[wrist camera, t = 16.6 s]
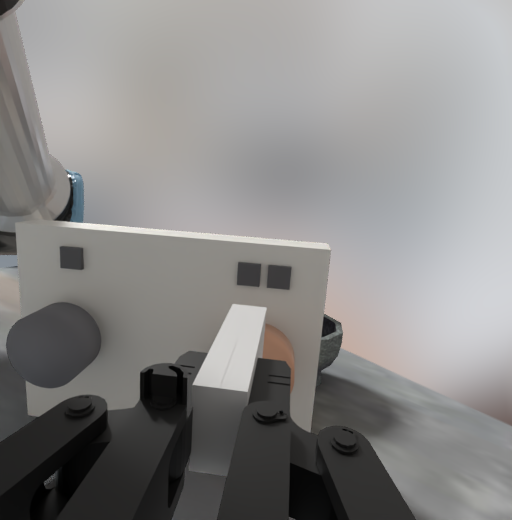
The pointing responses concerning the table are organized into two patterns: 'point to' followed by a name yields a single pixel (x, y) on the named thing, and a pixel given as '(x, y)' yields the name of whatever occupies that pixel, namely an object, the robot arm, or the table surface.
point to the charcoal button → (53, 344)
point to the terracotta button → (279, 349)
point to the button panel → (169, 299)
